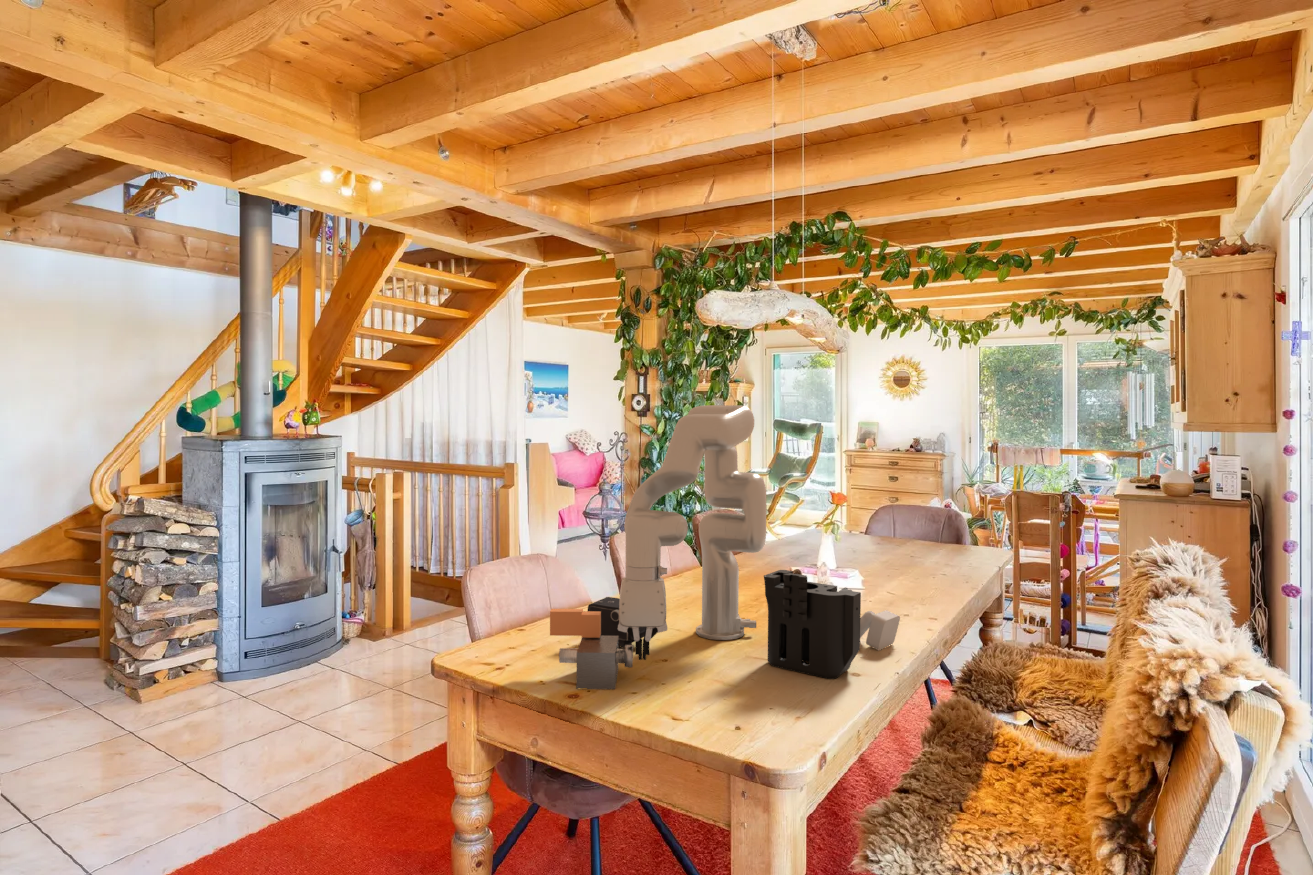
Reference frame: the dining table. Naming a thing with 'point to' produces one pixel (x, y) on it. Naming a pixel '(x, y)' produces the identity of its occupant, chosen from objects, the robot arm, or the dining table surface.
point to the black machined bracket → (811, 625)
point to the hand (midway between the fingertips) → (642, 657)
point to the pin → (621, 655)
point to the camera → (613, 620)
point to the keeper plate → (575, 623)
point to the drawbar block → (597, 662)
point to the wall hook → (879, 628)
